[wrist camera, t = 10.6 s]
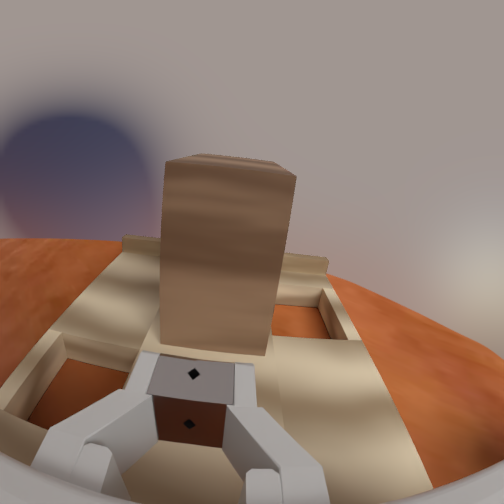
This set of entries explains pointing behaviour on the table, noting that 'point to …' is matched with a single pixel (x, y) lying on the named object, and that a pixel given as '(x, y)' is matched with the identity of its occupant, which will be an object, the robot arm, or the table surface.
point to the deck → (266, 377)
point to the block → (222, 251)
